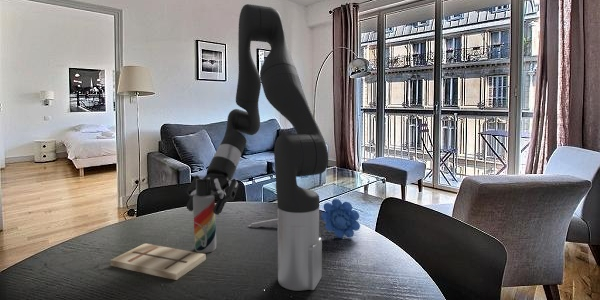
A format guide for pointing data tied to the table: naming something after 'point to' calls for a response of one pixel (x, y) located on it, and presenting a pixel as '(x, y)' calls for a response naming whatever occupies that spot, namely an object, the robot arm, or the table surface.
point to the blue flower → (340, 218)
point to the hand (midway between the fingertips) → (202, 211)
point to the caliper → (264, 223)
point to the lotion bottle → (204, 217)
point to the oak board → (159, 261)
